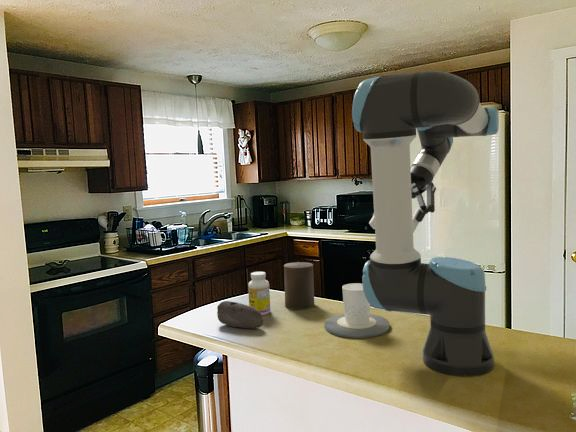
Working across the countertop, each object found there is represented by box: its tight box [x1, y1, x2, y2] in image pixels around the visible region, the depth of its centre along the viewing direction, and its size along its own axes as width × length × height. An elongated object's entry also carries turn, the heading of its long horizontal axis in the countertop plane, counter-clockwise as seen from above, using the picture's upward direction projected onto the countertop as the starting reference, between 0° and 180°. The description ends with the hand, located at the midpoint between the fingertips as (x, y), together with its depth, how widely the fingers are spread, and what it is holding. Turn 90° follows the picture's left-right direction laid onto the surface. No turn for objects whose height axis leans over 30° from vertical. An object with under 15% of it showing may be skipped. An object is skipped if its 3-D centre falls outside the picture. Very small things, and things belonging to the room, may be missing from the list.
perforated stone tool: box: [216, 300, 264, 330], centre depth 138 cm, size 15×5×7 cm, turn 58°
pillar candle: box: [283, 261, 315, 310], centre depth 157 cm, size 10×10×15 cm
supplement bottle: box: [247, 271, 271, 316], centre depth 150 cm, size 7×7×13 cm
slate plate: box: [324, 312, 390, 339], centre depth 134 cm, size 18×18×2 cm
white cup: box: [341, 282, 371, 325], centre depth 134 cm, size 8×8×10 cm
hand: (390, 227), depth 135 cm, fingers open, 13 cm apart
